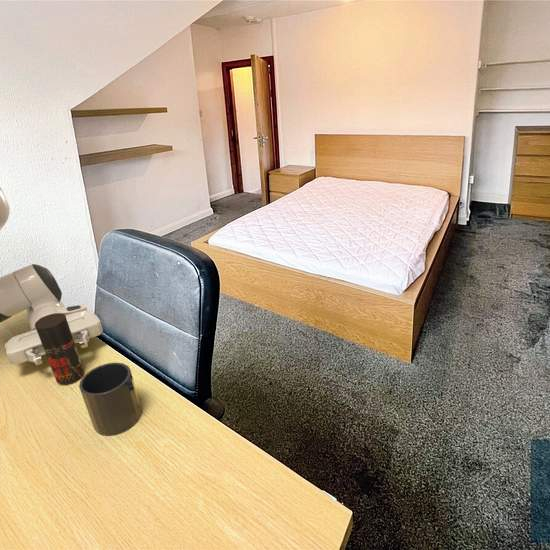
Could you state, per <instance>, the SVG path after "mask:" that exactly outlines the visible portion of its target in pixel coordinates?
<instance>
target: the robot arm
mask: <svg viewBox="0 0 550 550" xmlns="http://www.w3.org/2000/svg"><path fill="white" fill-rule="evenodd" d="M10 213H11V212H10V205H9V202H8V199H7V198H6V195H5V194H4V191H3V189H2V187H0V231H1V230H2V229H3V228H4V227H5V225H6V224H7V222H8V220H9V217H10ZM62 296H63V293H62V290H61V288H60V286H59V284H58V282H57V279H56V278H55V277H54V274H52V272H51V271H50V270H49V269H48V268H46V267H44V266H42V265H39V264H36V263H32V264H28V265H27V266H24V267H22V268H19V269H17V270H15V271H12V272H11V273H8V274H5V275H3V276H1V277H0V324H2V323H3V322H5V321H7V320H8V319H10V318H12V317H13V316H15V315H17V314H19V313H22V312H24V311H26V316H27V319H28V322H29V326H30V330H29V331H27V332H24V333H20V334H17V335H15V336H12V337H11V338H10V339H8V341H7V342H4V350H5V353H6V357H7V359H8V362H9V363H10V365H13V366H18V365H20V364H23V363H26V362H32V363H34V364H35V365H34V366H38V365H41V364H44V361H43V358H42V356H46V353H45V351H44V348H43V345H42V343H41V340H40V338H39V335H38V333H37V330H36V327H35V323H36V322H37V321H38V320H39V319H41V318H42V317H44V316H47V315H50V314H55V313H61V314H64V315H65V316H66V319H67V322H68V325H69V328H70V331H71V334H72V336H73V339H74V342H75V345H76V344H78V343H79V346H80V349H85V348H87V347H89V344H88V343H89V342H90V340H91V339H93V338H96V337H98V336H100V335H102V334H103V332H104V328H103V326H102V325H103V324H102V322H101V320H100V318H99V317H98V316H97V314H96V313H94V311H91V310H89V309H88V308H87V306H86V305H85V304H78V305H72V306H65V305H64V303H63V302H62Z"/></svg>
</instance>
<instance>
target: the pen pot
mask: <svg viewBox="0 0 550 550" xmlns="http://www.w3.org/2000/svg"><path fill="white" fill-rule="evenodd" d="M78 388H79V390H80V393H81V396H82V399H83V402H84V405H85V407H86V410H87V413H88V416H89V420H90V421H91V425H92V426H93V429H94V431H95V432H96V433H97V434H99V435H101V436H106V437H111V436H116V435H120V434H124V433H125V432H126V431H129V430H130V429H132V428H133V427H134V426H135V425H136V424H137V423H138V422H139V420H140V419H141V416H142V406H141V404H140V403H141V402H140V398H139V395H138V392H137V389H136V384H135V381H134V378H133V374H132V370H131V368H130V367H129V365H127V364H125V363H123V362H108V363H104V364H101V365H98V366H96V367H94V368H92V369H91V370H89V371H88V372H86V373H85V374H84V376H83V377H82V378H81V379H80V380H79V385H78Z"/></svg>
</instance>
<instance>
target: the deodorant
mask: <svg viewBox="0 0 550 550" xmlns="http://www.w3.org/2000/svg"><path fill="white" fill-rule="evenodd" d="M35 327H36V330H37V333H38V335H39V338H40V340H41V343H42V345H43V348H44V351H45V353H46V354H45V356H46V358H47V360H48V363H49V366H50V368H51V371H52V374H53V376H54V379H55V381H56V383H57V385H58V386H70V385H73V384H75V383H77V382H80V381H81V379H82V378H83V377H84V375H85V374H86V373H85V369H84V366H83V363H82V360H81V357H80V354H79V352H78V349H77V345H76V344H75V342H74V339H73V336H72V334H71V331H70V328H69V325H68V322H67V319H66V316H65V315H64V314H61V313H55V314H50V315H47V316H44V317H42V318H41V319H39V320H38V321H37V322H36V323H35Z"/></svg>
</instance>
